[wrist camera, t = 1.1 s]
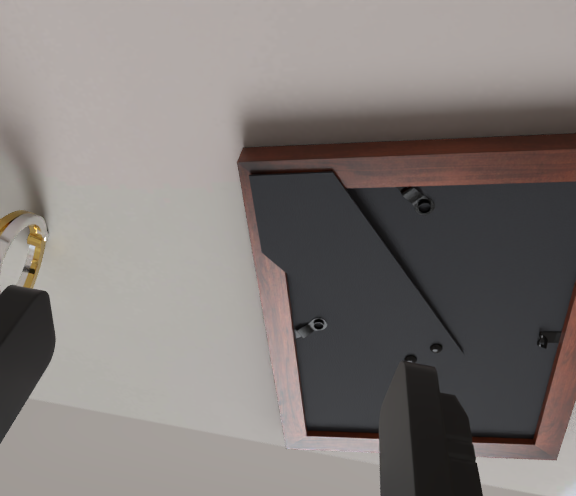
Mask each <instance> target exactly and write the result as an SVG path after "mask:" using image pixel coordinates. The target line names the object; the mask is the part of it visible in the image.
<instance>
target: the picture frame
mask: <svg viewBox="0 0 576 496" xmlns="http://www.w3.org/2000/svg"><path fill="white" fill-rule="evenodd" d="M237 165H238V171H239V177H240V182H241V188H242V194H243V200H244V206H245V212H246V218H247V223H248V229H249V235H250V241H251V247H252V253H253V259H254V264H255V270H256V276H257V282H258V288H259V294H260V299H261V305H262V311H263V317H264V323H265V329H266V335H267V340H268V346H269V352H270V358H271V364H272V370H273V376H274V381H275V387H276V393H277V399H278V405H279V411H280V417H281V422H282V428H283V434H284V440H285V446H286V449H301V450H324V451H348V452H372V453H379V419H380V412H381V407H382V403H383V401H384V398H385V396H386V393H387V391H388V388H389V386H390V384H391V381H392V379H393V376H394V374H395V372H396V369H397V367H398V365H399V363H400V362H401V361H407V362H412V363H417V364H423V365H428V366H433V367H435V368H436V370H437V375H438V381H439V389H440V392H441V393H446V394H451V395H455V396H456V397H457V399H458V401H459V402H460V404H461V406H462V407H463V409H464V411H465V412H466V414H467V416H468V418H469V423H470V429H471V434H472V444H473V445H474V450H475V456H476V457H490V458H514V459H537V460H557V457H558V454H559V451H560V448H561V444H562V441H563V438H564V435H565V432H566V429H567V426H568V422H569V419H570V416H571V413H572V410H573V407H574V404H575V401H576V133H575V134H551V135H528V136H505V137H482V138H458V139H435V140H412V141H389V142H366V143H342V144H319V145H296V146H273V147H249V148H243V149H242V152H241V154H240V156H239V159H238V161H237Z"/></svg>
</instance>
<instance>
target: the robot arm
mask: <svg viewBox="0 0 576 496" xmlns="http://www.w3.org/2000/svg"><path fill="white" fill-rule="evenodd" d="M54 348H55V331H54V324H53V318H52V311H51V305H50V298H49V295H48V293H47V292H46V291H42V290H37V289H32V288H26V287H21V286H16V285H10V286H8V287H7V288H6V289H5V290H4V291H3V292H2V293H1V294H0V443H1V442H2V440H3V438H4V437H5V435H6V433H7V432H8V430H9V429H10V427H11V425H12V423H13V422H14V420H15V419H16V417H17V415H18V414H19V412H20V411H21V409H22V407H23V406H24V404H25V402H26V401H27V399H28V397H29V396H30V394H31V393H32V391H33V389H34V388H35V386H36V384H37V383H38V381H39V379H40V378H41V376H42V375H43V373H44V371H45V370H46V368H47V366H48V365H49V363H50V361H51V358H52V356H53V352H54ZM379 454H380V490H381V491H380V492H381V496H483V494H482V488H481V483H480V478H479V472H478V467H477V463H476V462H475V460H476V456H475V450H474V445H473V444H472V434H471V429H470V423H469V418H468V416H467V414H466V412H465V411H464V409H463V407H462V406H461V404H460V402H459V401H458V399H457V397H456V396H455V395H451V394H446V393H441V392H440V389H439V381H438V375H437V370H436V368H435V367H433V366H428V365H423V364H417V363H412V362H407V361H401V362H400V363H399V365H398V367H397V369H396V372H395V374H394V376H393V379H392V381H391V384H390V386H389V388H388V391H387V393H386V396H385V398H384V401H383V403H382V407H381V412H380V419H379Z"/></svg>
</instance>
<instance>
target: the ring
mask: <svg viewBox="0 0 576 496" xmlns="http://www.w3.org/2000/svg"><path fill="white" fill-rule="evenodd" d="M27 226H29V229H30V234H29V235H28V239H27V244H29V251H28V255H27V259H26V263H25V266H24V269H23V271H22V274H21V276H20V278H19V281H18V283H17V285H16V286H21V287H26V288H32V289H33V287H34V284H35V281H36V278H37V275H38V272H39V269H40V266H41V262H42V258H43V254H44V249H45V243H46V242H47V240H48V236H49V233H48V232H47V228H46V223H45V220H44V219H43V218H42V217H41V216H38V215H36V214H34V213H31V212H28V211H25V210H19V211H15V212H12V213H10V214H8V215H6V216H5V217H3V218H1V219H0V273H1V267H2V264H3V260H4V258H5V255H6V253H7V251H8V249H9V247H10V245H11V244H12V242H13V240H14V239H15V238H16V236H17V235H18V234H19V233H20V232H21V231H22V230H23V229H24V228H25V227H27ZM0 294H1V287H0Z"/></svg>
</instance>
